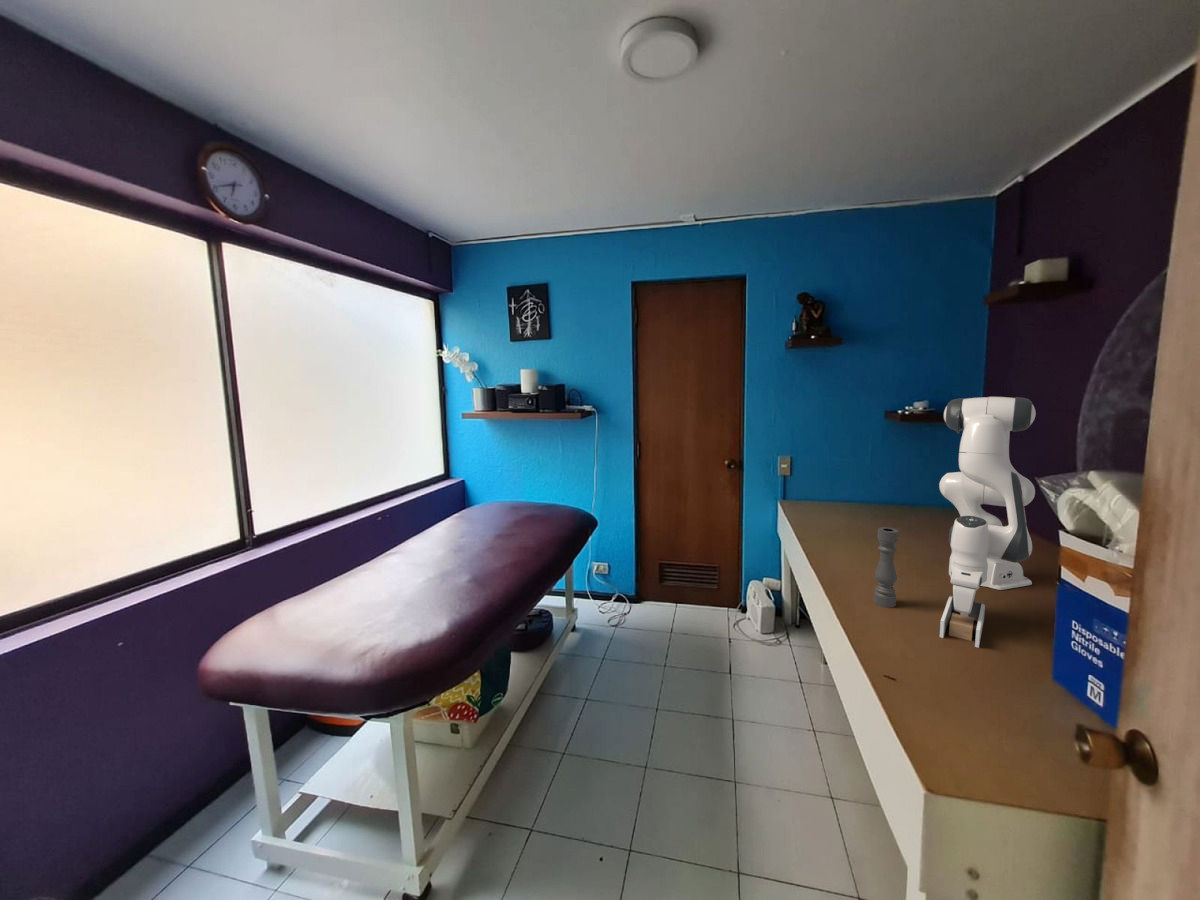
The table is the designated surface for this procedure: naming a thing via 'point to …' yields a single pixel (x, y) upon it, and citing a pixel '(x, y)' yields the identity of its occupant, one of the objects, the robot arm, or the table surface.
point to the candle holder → (886, 568)
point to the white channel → (976, 613)
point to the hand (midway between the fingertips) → (964, 615)
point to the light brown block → (961, 627)
